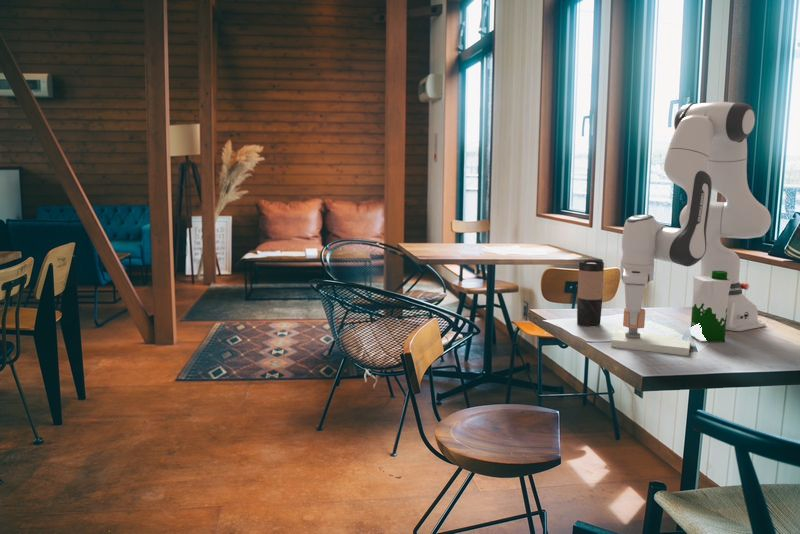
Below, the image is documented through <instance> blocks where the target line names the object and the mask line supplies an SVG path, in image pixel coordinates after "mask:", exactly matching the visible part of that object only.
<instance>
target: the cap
mask: <svg viewBox="0 0 800 534" xmlns="http://www.w3.org/2000/svg"><path fill="white" fill-rule="evenodd" d="M622 320H623V322H622V324H623V325H622V326H623V327H625V328H628V329H629V328H636V329H637V328H638V329H644V328H645V323H646V321H645V320H646V309H644V308H642V307H641V310H640V312H638V315H637V324H636V325H631V324H630V312H629V311H627V310H626V307H624V309H623V319H622Z"/></svg>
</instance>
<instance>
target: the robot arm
mask: <svg viewBox="0 0 800 534" xmlns="http://www.w3.org/2000/svg"><path fill="white" fill-rule="evenodd" d="M755 124H756V114H755V110H754V109H753V107H752V106H751V105H750V104H748V103H745V102H739V101H738V102H729V101H713V102H710V101H709V102H699V103H696V102H692V103H687V104H684V105H682V106H681V107H680V108H679V109H678V110H677V112H676V114H675V116H674V123H673V126H674V133H673V135H672V137H671V140H670V143H669V145H668V148H667V152H666V155H665V159H664V163H663V164H664V165H663V166H664V167H663V170H664V173H665V175H666V176H667V178H668V179H669V181H671V183H673V184H675V185H676V186H677V187H679V188H682V189H683V190H684V191H685V193H686V196H687V202H686V204H685V206H684V207H683V208H682V210H681V211H680V214H679V224H680V225H679V226H680V228H679V227H672V226H666V225H664V224H662V223H660V222H658V221H657V219H655V217H654V216H653V215H650V214H636V215H632V216H630V217H628V218H627V219H626V220H625V223H624V225H623V229H622V230H623V231H622V238H621V250H622V256H621V259H620V269H619V270H620V272H619V273H620V275H619V279H621V281H622V284H624V297H625V298H624V300H625V302H624V303H625V308H626V310H627V311H629V312H630V324H631V325H636V324H637V315H638V312H640V310H641V308H642V305H643V301H644V296H645V295H644V294H645V289H646V287H649V283H650V282H652V281H654V273H655V271H654V270H655V260H659V261H661V262H669V263H673V264H677V265H679V266H680V265H681V266H682V267H683V266H684V267H692V266H694V265H696V264H697V263H699V262H700V274H699V275H700V276H699V277H702V276H706V277H712V271H725V272H727V279H728V280H730V281H731V286H730V290H729V295H728V306H727V319H726V331H732V332H733V331H734V332H742V331H747V330H753V329H757V328H763V327H766V325H767V324H766V322H765V321H763V320H760V319H759V314H758V311H759V310H758V307H757V306H756V305H755V303H753V302H752V301H751V300H749V298H748V297H746V296H745V294H743V290H745V291H748V290H749V288H750V284H749V283H746V282H741V283H740V271H741V268H740V267H741V259H740V257H739V255H738V254H737V253H736V251H733V250H732V249H730V248H728V247H726V246H724V245H723V244H722V241H721V238H727V239H741V240H742V239H745V240H746V239H754V238H762V237H763V236H765V234H766V233H767V232H768V231H769V230H770V227H771V225H772V217H771V213H770V211H769V210H768V208H767V207H766V206H764V205H763V204H762V203H761V202H759V200H757V199H756V198H755V197H754V195H753V194H752V192H751V190H750V188H749V184H748V173H747V168H748V167H747V164H748V143H747V138H748V137H749V136H750V135H751V134H752V132H753V130H754V128H755ZM712 191H714V192H717V193H718V194H721V195H722V196H723V197H724V198H725V201H724V202H723V201H711V197H712Z"/></svg>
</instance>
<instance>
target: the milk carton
mask: <svg viewBox="0 0 800 534" xmlns="http://www.w3.org/2000/svg"><path fill="white" fill-rule="evenodd" d="M692 281H693V287H692V292H693V293H692V304H691V316H690V317H691V321H690V328H691V327H692V326H694V325H696V324H698V323H700V324H699V325H701V327H702V334H703V335H704V337H705V338H706V340H707V341H708V342H707V343H709V342H710V343H725V342H726V332H727V330H726V319H727V306H728V295H729V290H730V286H731V281H730V280H728V279H727V272H725V271H712V277H706V276H702V277H700V276H693V280H692ZM701 327H700V328H701Z"/></svg>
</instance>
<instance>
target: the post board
mask: <svg viewBox="0 0 800 534" xmlns="http://www.w3.org/2000/svg"><path fill="white" fill-rule="evenodd" d="M638 330H639V328H637V329H636V328H628V330H627V331H626V330H617V331H616V332H615V333H614V335H613V337H612V338H611V341H610V347H611V348H618V349H627V350H636V351H644V352H654V353H661V354H662V353H663V354H670V355H671V354H672V355H680V356H689V354H690V349H691V343H690V341H685V340H682V337H683V336H673V335H663V334H656V333H655V334H654V333H646V332H638Z"/></svg>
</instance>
